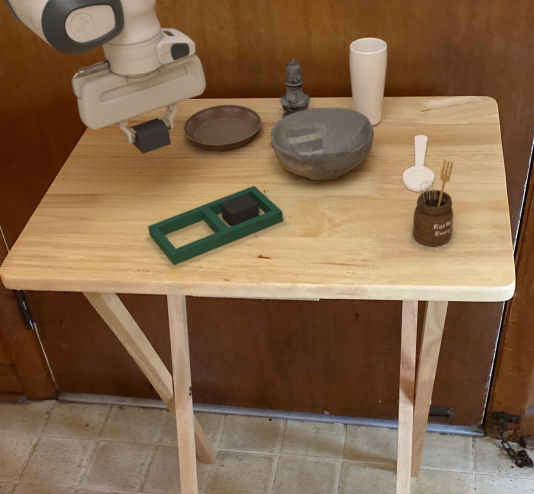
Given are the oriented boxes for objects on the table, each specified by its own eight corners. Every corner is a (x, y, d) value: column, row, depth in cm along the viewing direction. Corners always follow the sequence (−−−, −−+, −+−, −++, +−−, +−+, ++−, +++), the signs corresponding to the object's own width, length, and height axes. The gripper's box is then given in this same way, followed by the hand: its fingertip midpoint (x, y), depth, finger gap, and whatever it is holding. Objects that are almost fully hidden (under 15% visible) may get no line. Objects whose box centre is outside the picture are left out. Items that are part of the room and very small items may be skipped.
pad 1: (142, 154, 129) (139, 137, 127) (132, 143, 131) (129, 127, 129) (171, 144, 130) (168, 127, 128) (160, 134, 133) (157, 117, 131)
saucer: (251, 158, 149) (250, 145, 147) (175, 154, 152) (173, 141, 150) (270, 118, 159) (269, 106, 158) (198, 115, 163) (196, 103, 161)
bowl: (348, 133, 153) (348, 94, 147) (391, 179, 140) (392, 138, 135) (258, 157, 149) (255, 117, 144) (294, 206, 137) (291, 165, 131)
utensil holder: (405, 239, 128) (408, 173, 120) (427, 219, 131) (432, 154, 123) (437, 252, 125) (442, 186, 116) (459, 232, 128) (466, 166, 120)
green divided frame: (174, 265, 127) (172, 255, 126) (149, 235, 134) (147, 226, 132) (283, 221, 134) (282, 211, 132) (255, 195, 140) (254, 185, 139)
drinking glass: (388, 113, 157) (390, 38, 147) (382, 130, 153) (383, 54, 143) (353, 111, 159) (353, 36, 149) (346, 128, 154) (345, 52, 144)
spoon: (436, 137, 149) (436, 134, 149) (433, 192, 136) (433, 189, 136) (406, 136, 150) (406, 134, 150) (401, 191, 137) (401, 188, 137)
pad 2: (233, 229, 133) (231, 214, 131) (222, 218, 136) (220, 203, 134) (260, 219, 135) (258, 204, 133) (248, 207, 137) (246, 192, 135)
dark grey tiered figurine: (309, 124, 157) (306, 64, 149) (279, 123, 158) (274, 65, 150) (312, 109, 161) (310, 50, 153) (283, 108, 162) (279, 51, 154)
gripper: (76, 79, 115) (97, 164, 124) (204, 39, 122) (215, 123, 131) (61, 64, 119) (82, 147, 128) (185, 26, 126) (197, 108, 135)
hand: (150, 135), depth 130 cm, fingers closed on pad 1, 5 cm apart
